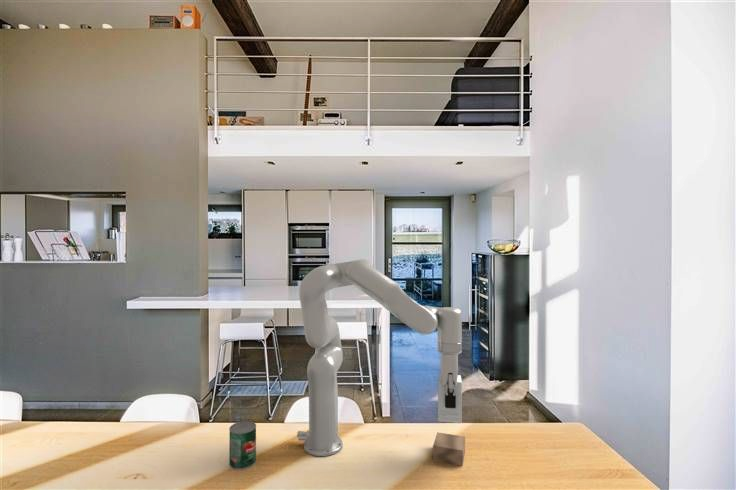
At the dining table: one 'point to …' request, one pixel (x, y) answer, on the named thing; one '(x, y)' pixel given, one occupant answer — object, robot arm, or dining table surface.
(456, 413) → the supplement box
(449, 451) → the walnut block
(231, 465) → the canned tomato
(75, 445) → the dining table surface
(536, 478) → the dining table surface
